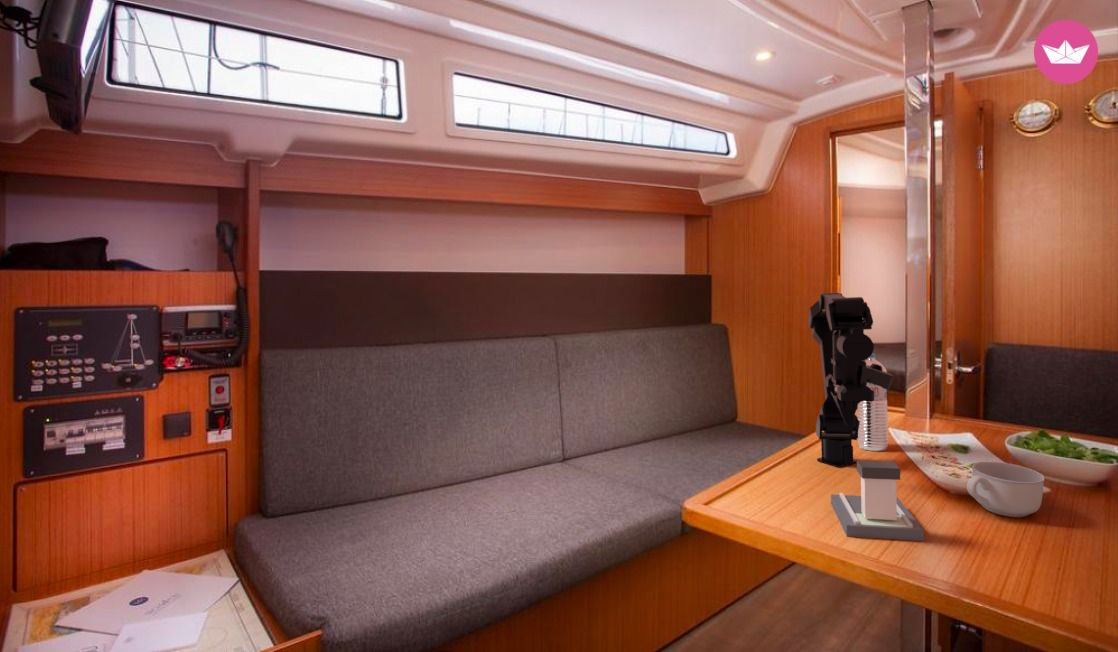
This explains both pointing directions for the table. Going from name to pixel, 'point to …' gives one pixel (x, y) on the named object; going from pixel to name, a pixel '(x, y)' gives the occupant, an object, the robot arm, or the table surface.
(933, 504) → the table surface
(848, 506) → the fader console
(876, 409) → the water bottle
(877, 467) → the fader knob
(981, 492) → the teacup
